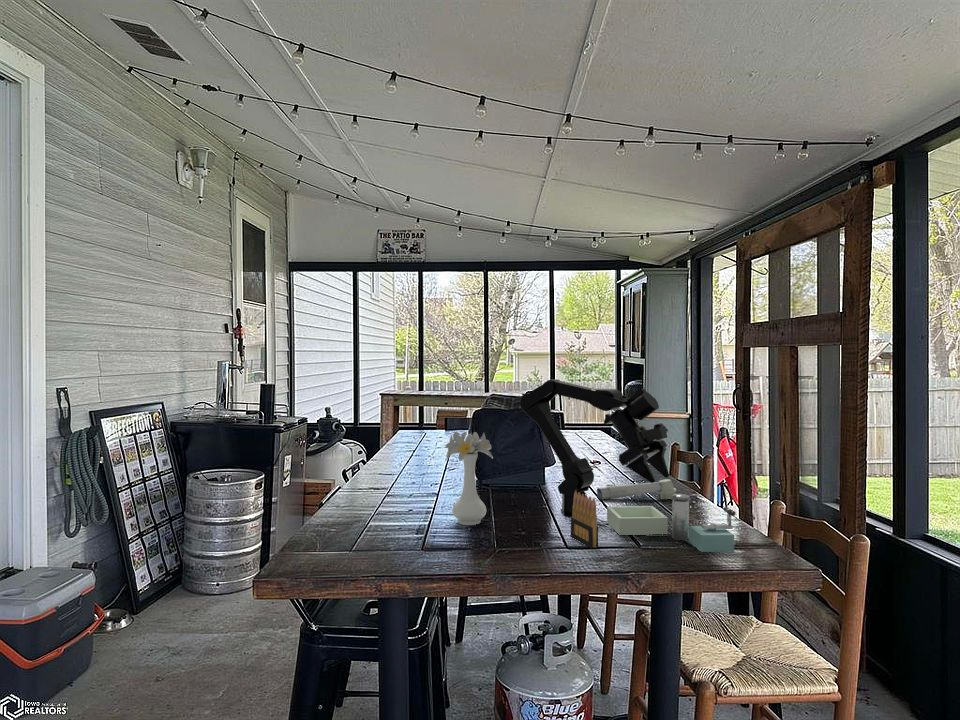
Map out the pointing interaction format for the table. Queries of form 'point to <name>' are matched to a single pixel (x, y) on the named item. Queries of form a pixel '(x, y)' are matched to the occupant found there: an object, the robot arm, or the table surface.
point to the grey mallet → (638, 490)
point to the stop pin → (680, 516)
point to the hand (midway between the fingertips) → (660, 479)
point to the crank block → (711, 539)
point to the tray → (637, 520)
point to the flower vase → (468, 476)
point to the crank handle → (721, 526)
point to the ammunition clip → (584, 520)
